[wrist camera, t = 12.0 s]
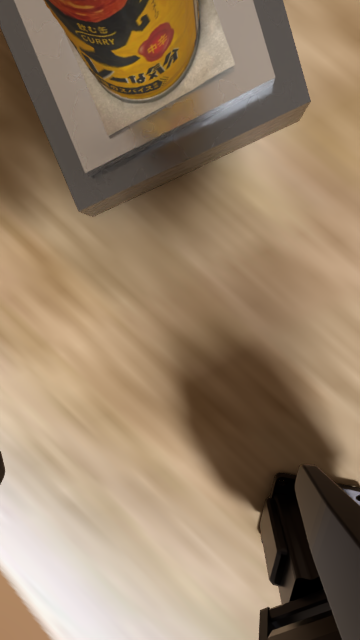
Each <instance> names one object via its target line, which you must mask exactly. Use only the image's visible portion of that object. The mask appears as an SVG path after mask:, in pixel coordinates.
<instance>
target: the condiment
mask: <svg viewBox="0 0 360 640" xmlns="http://www.w3.org/2000/svg"><path fill="white" fill-rule="evenodd" d="M44 2H45V4H46V6H47V8H49V9H50V11H51V13H52V14H53V16H54V17H55V18H56V20H57V21H58V22H59V24H60V25H61V27H62V28H63V30H64V33H65V35H66V37H67V40H68V42H69V44H70V47H71V49H72V51H73V54H74V56H75V58H76V61H77V63H78V65H79V68H80V70H81V72H82V75H83V77H84V80H85V82H86V84H87V87H88V89H89V92H90V94H91V96H92V99H93V101H94V103H95V106H96V108H97V111H98V113H99V115H100V118H101V120H102V123H103V125H104V128H105V130H106V133H107V136H109V135H111V134H113V133H115V132H117V131H119V130H120V129H122V128H124V127H126V126H128V125H130V124H132V123H133V122H135V121H137V120H140V119H141V118H143V117H145V116H147V115H149V114H150V113H152V112H154V111H156V110H158V109H160V108H162V107H163V106H165V105H167V104H168V103H170V102H172V101H173V100H175V99H177V98H179V97H180V96H182V95H184V94H186V93H188V92H189V91H191V90H193V89H195V88H196V87H197V86H199V85H201V84H203V83H204V82H205V81H206V80H208V79H210V78H212V77H214V76H216V75H217V74H219V73H221V72H223V71H224V70H226V69H228V68H230V67H232V66H234V65H235V63H234V60H233V57H232V54H231V51H230V48H229V46H228V43H227V40H226V37H225V34H224V32H223V29H222V26H221V23H220V19H219V16H218V13H217V11H216V8H215V5H214V2H213V0H44Z"/></svg>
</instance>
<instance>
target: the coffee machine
mask: <svg viewBox="0 0 360 640" xmlns="http://www.w3.org/2000/svg"><path fill="white" fill-rule="evenodd" d="M213 2H214V5H215V8H216V11H217V13H218V16H219V19H220V23H221V26H222V29H223V32H224V34H225V37H226V40H227V43H228V46H229V48H230V51H231V54H232V57H233V60H234V63H235V65H234V66H232V67H230V68H228V69H226V70H224V71H223V72H221V73H219V74H217V75H216V76H214V77H212V78H210V79H208V80H206V81H205V82H204V83H203V84H201V85H199V86H197V87H196V88H195V89H193V90H191V91H189V92H188V93H186V94H184V95H182V96H180V97H179V98H177V99H175V100H173V101H172V102H170V103H168V104H167V105H165V106H163V107H162V108H160V109H158V110H156V111H154V112H152V113H150V114H149V115H147V116H145V117H143V118H141V119H140V120H137V121H135V122H133V123H132V124H130V125H128V126H126V127H124V128H122V129H120V130H119V131H117V132H115V133H113V134H111V135H109V136H107V133H106V130H105V128H104V125H103V123H102V120H101V118H100V115H99V113H98V111H97V108H96V106H95V103H94V101H93V99H92V96H91V94H90V92H89V89H88V87H87V84H86V82H85V80H84V77H83V75H82V72H81V70H80V68H79V65H78V63H77V61H76V58H75V56H74V54H73V51H72V49H71V47H70V44H69V42H68V40H67V37H66V35H65V33H64V30H63V28H62V27H61V25H60V24H59V22H58V21H57V20H56V18H55V17H54V16H53V14H52V13H51V11H50V9H49V8H47V6H46V4H45V2H44V0H0V27H1V29H2V32H3V34H4V36H5V39H6V41H7V44H8V46H9V48H10V51H11V53H12V55H13V58H14V60H15V62H16V65H17V67H18V69H19V72H20V74H21V77H22V79H23V81H24V84H25V86H26V88H27V91H28V93H29V95H30V98H31V100H32V102H33V105H34V107H35V110H36V112H37V114H38V117H39V119H40V121H41V124H42V126H43V128H44V131H45V133H46V135H47V138H48V140H49V143H50V145H51V147H52V150H53V152H54V154H55V157H56V159H57V161H58V164H59V166H60V168H61V171H62V173H63V176H64V178H65V180H66V183H67V185H68V187H69V190H70V192H71V194H72V197H73V199H74V201H75V204H76V206H77V208H78V211H79V212H82V213H84V214H87V215H90V216H92V217H93V216H96V215H98V214H100V213H102V212H104V211H106V210H109V209H111V208H113V207H115V206H117V205H119V204H121V203H124V202H126V201H128V200H130V199H132V198H134V197H136V196H139V195H141V194H143V193H145V192H147V191H149V190H151V189H154V188H156V187H158V186H160V185H162V184H164V183H166V182H169V181H171V180H173V179H175V178H177V177H179V176H182V175H184V174H186V173H188V172H190V171H192V170H194V169H197V168H199V167H201V166H203V165H205V164H207V163H209V162H212V161H214V160H216V159H218V158H220V157H222V156H224V155H227V154H229V153H231V152H233V151H235V150H237V149H239V148H242V147H244V146H246V145H248V144H250V143H252V142H255V141H257V140H259V139H261V138H263V137H265V136H267V135H270V134H272V133H274V132H276V131H278V130H280V129H282V128H285V127H287V126H289V125H291V124H293V123H295V122H297V121H299V120H300V118H301V117H302V115H303V113H304V112H305V110H306V108H307V107H308V105H309V103H310V102H311V100H310V97H309V93H308V89H307V86H306V82H305V79H304V75H303V72H302V68H301V64H300V61H299V57H298V54H297V50H296V46H295V43H294V39H293V36H292V32H291V28H290V25H289V21H288V18H287V14H286V10H285V7H284V3H283V0H213Z"/></svg>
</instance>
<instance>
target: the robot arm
mask: <svg viewBox="0 0 360 640" xmlns="http://www.w3.org/2000/svg"><path fill="white" fill-rule="evenodd" d="M4 475H5V467H4V463H3V458H2V454H1V451H0V484H1V482H2V480H3V478H4ZM280 480H284V481H280ZM358 495H360V488H357V487H351V486H346V485H341V484H336V483H335V482H333V481H332V480H331V479H330V478H329V477H328V476H327V475H326V474H325V473H324V472H322V471H321V470H320V469H319V468H318V467H317V466H315V465H312V464H301V465H300V466H299V470H298V474H297V476H295V475H290V474H285V473H278V474H276V475H275V477H274V481H273V486H272V490H271V494H270V498H267V499H266V500H265V504H264V509H263V513H262V517H261V521H260V529H261V540H262V543H263V547H264V553H265V558H266V564H267V570H268V576H269V580H270V582H271V583H272V584H273V585H276V586H278V587H279V593H280V598H281V603H282V605H279V606H276V607H273V608H271V609H270V608H269V607H267V608H265V609H262V610H260V624H259V640H360V496H358Z"/></svg>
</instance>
